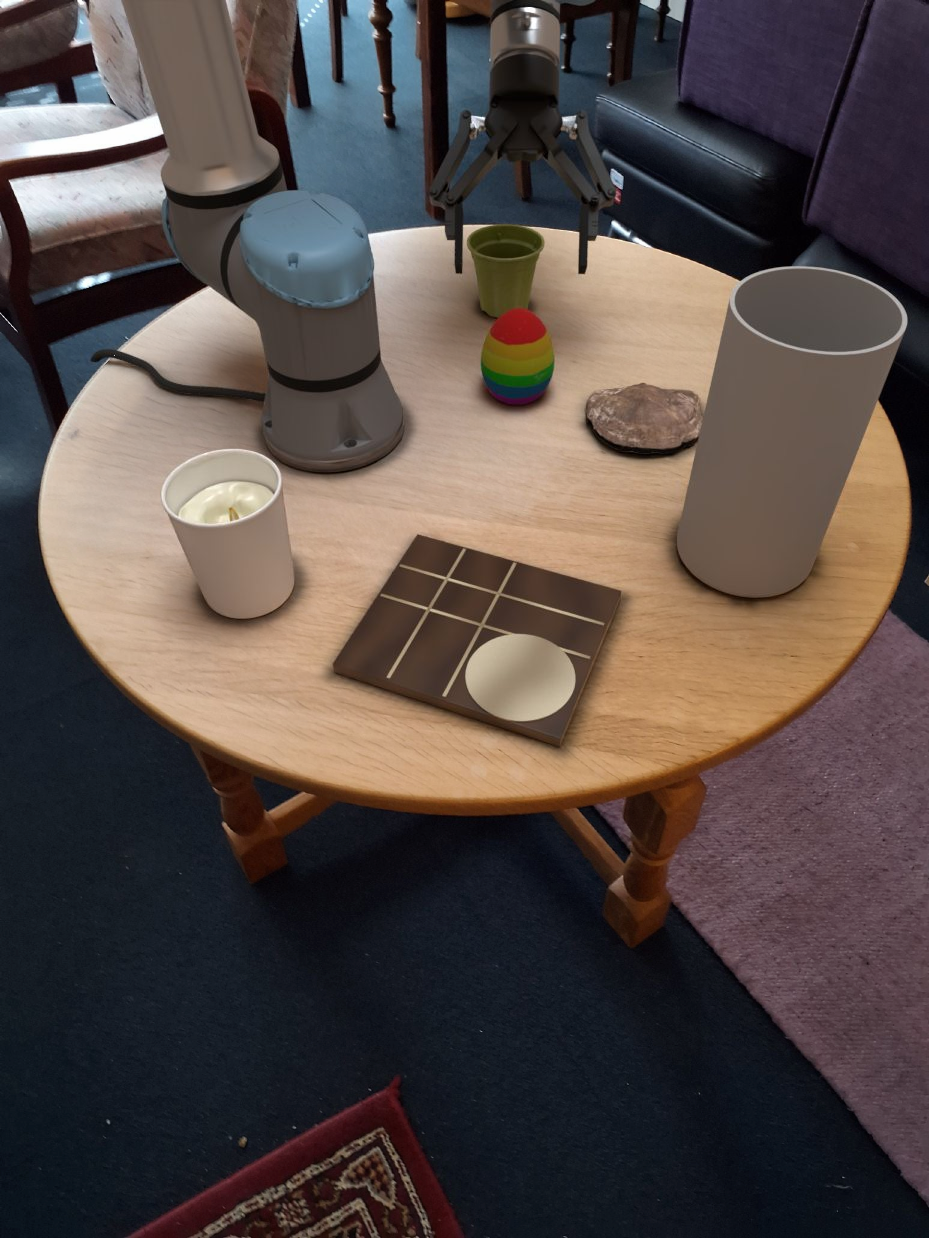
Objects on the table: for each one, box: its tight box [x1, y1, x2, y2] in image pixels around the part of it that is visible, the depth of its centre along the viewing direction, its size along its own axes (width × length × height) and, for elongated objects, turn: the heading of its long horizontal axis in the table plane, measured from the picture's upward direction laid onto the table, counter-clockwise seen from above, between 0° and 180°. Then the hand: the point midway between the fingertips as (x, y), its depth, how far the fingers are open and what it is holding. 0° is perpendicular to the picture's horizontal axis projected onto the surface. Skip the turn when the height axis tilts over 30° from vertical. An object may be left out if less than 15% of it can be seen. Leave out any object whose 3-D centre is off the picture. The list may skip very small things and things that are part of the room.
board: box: [332, 534, 622, 748], centre depth 77 cm, size 20×17×1 cm
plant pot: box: [466, 223, 545, 319], centre depth 111 cm, size 9×9×9 cm
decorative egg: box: [480, 308, 555, 406], centre depth 98 cm, size 8×8×10 cm
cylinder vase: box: [676, 265, 908, 599], centre depth 75 cm, size 12×12×25 cm
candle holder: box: [160, 448, 296, 620], centre depth 78 cm, size 10×10×12 cm
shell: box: [585, 382, 704, 455], centre depth 96 cm, size 12×13×4 cm
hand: (520, 270), depth 98 cm, fingers open, 13 cm apart
